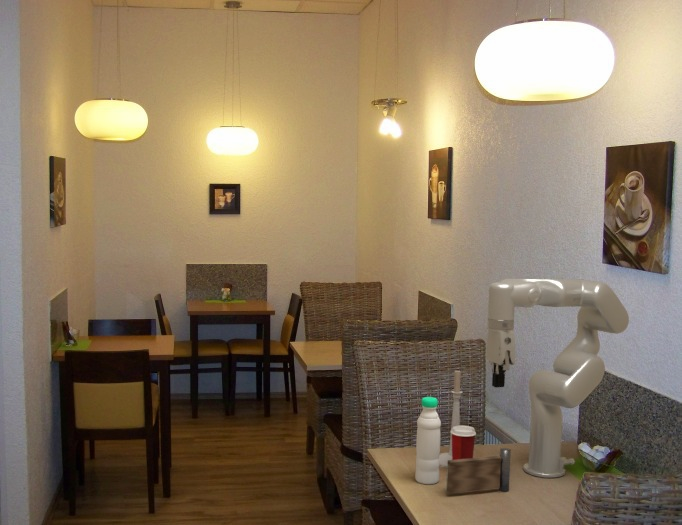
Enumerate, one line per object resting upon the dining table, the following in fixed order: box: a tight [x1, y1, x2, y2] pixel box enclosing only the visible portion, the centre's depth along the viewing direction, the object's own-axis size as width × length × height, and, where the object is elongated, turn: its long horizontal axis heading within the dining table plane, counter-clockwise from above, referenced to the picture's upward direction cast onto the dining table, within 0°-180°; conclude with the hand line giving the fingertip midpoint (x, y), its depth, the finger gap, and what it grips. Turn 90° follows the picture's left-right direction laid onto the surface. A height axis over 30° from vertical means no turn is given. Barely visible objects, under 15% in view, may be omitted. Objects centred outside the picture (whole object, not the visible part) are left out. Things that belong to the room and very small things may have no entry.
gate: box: [446, 455, 501, 494], centre depth 233 cm, size 16×2×9 cm, turn 108°
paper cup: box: [449, 425, 477, 460], centre depth 250 cm, size 8×8×14 cm
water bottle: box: [414, 396, 442, 485], centre depth 242 cm, size 7×7×25 cm
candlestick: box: [439, 370, 463, 469], centre depth 259 cm, size 13×13×30 cm
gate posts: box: [446, 447, 512, 493], centre depth 235 cm, size 18×3×12 cm, turn 99°
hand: (498, 386), depth 240 cm, fingers closed
